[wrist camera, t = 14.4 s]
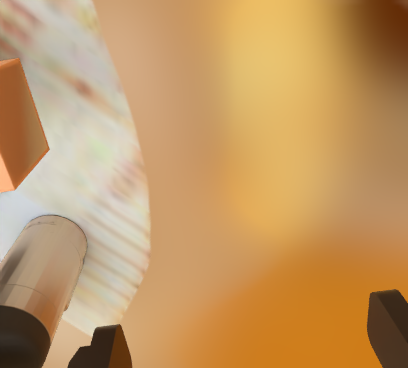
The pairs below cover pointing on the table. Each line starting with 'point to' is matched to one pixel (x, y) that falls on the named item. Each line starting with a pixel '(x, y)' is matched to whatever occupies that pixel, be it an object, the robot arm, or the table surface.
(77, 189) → the table surface
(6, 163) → the block
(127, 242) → the table surface
